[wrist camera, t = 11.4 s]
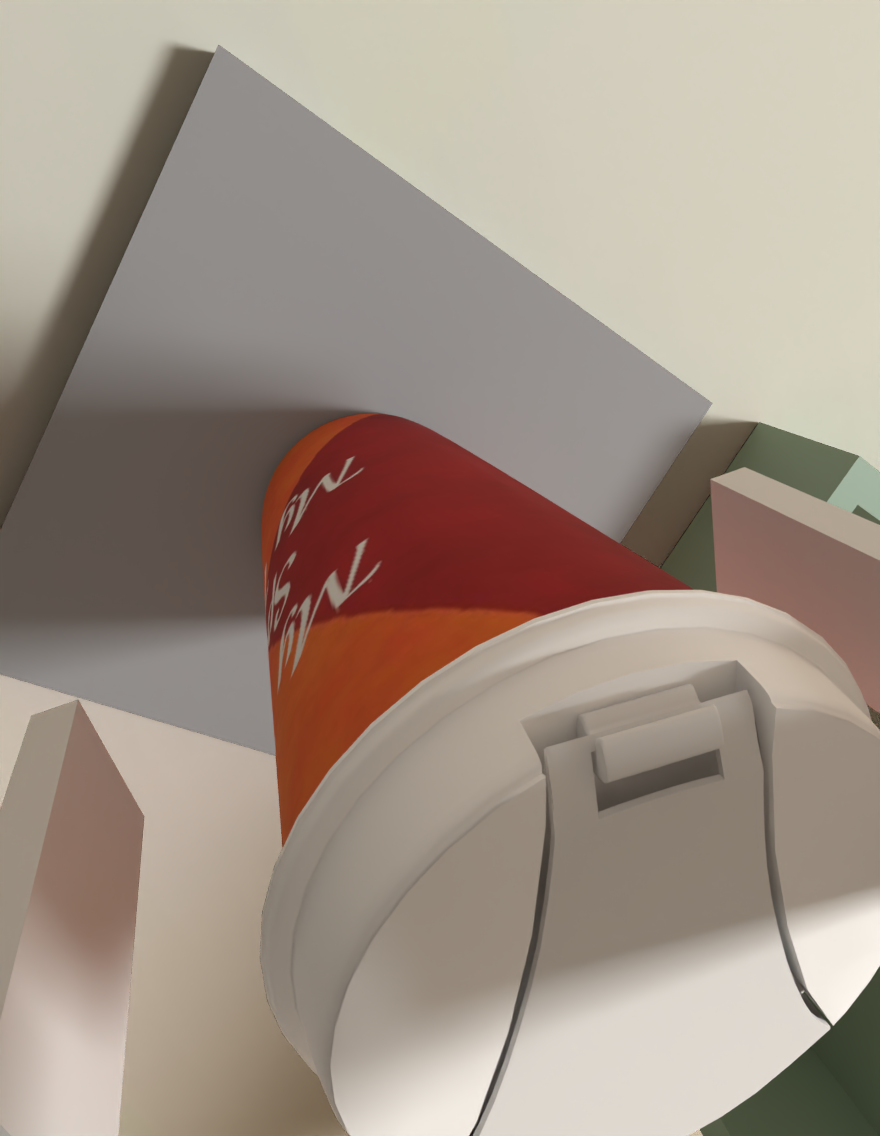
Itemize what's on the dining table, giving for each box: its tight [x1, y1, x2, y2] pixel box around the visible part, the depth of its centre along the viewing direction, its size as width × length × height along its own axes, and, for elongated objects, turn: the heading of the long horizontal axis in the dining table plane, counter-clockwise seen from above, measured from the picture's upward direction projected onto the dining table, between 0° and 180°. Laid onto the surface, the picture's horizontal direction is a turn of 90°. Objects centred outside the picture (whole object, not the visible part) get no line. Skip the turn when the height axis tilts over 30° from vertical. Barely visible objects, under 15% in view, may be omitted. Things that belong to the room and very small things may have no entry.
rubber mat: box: [0, 45, 712, 756], centre depth 20 cm, size 15×15×1 cm
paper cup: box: [260, 413, 880, 1136], centre depth 14 cm, size 8×8×14 cm
